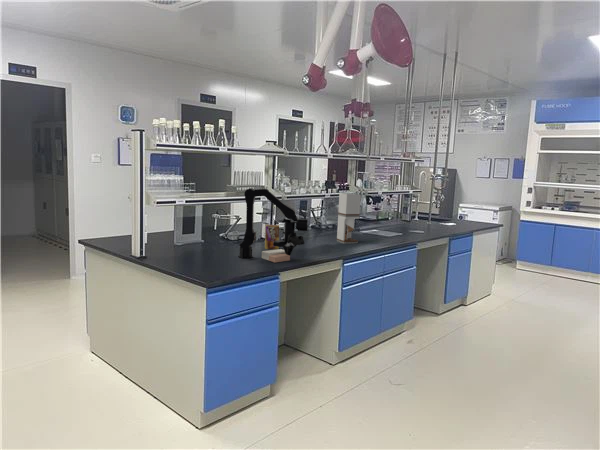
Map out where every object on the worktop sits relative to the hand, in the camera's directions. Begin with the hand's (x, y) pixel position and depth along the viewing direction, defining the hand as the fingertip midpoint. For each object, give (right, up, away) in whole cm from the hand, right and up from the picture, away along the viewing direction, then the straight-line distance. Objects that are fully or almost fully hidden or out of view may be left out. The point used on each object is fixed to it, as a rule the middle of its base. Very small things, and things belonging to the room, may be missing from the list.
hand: (288, 257), depth 254 cm
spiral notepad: (-8, -1, +3) cm, 8 cm away
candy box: (-12, +3, +31) cm, 33 cm away
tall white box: (+41, +6, +67) cm, 79 cm away
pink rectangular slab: (-5, -2, -4) cm, 7 cm away
